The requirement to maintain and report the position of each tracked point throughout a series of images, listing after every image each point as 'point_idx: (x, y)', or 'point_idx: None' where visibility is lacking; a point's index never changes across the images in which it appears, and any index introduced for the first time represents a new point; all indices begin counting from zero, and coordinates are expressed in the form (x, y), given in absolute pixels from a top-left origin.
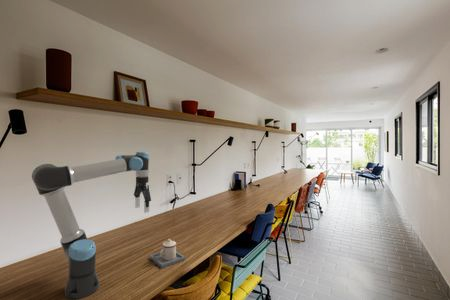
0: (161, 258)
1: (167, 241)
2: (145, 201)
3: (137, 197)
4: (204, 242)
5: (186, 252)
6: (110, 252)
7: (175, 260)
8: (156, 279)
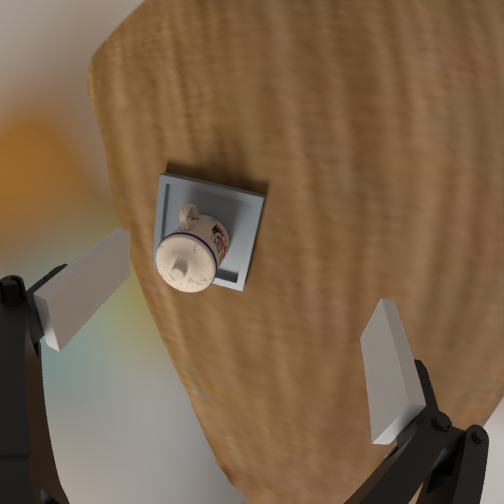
0: (219, 216)
1: (183, 264)
2: (5, 288)
3: (400, 425)
4: (212, 376)
5: (197, 302)
6: (447, 139)
7: (155, 228)
8: (124, 117)
